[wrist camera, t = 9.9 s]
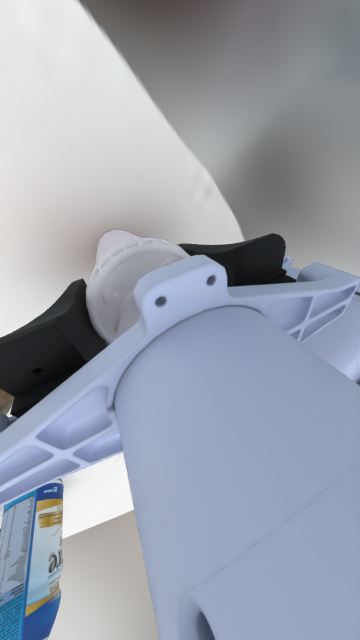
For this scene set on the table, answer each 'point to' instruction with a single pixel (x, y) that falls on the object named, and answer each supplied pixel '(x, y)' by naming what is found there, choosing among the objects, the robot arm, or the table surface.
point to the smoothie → (123, 278)
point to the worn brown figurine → (5, 402)
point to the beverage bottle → (31, 563)
